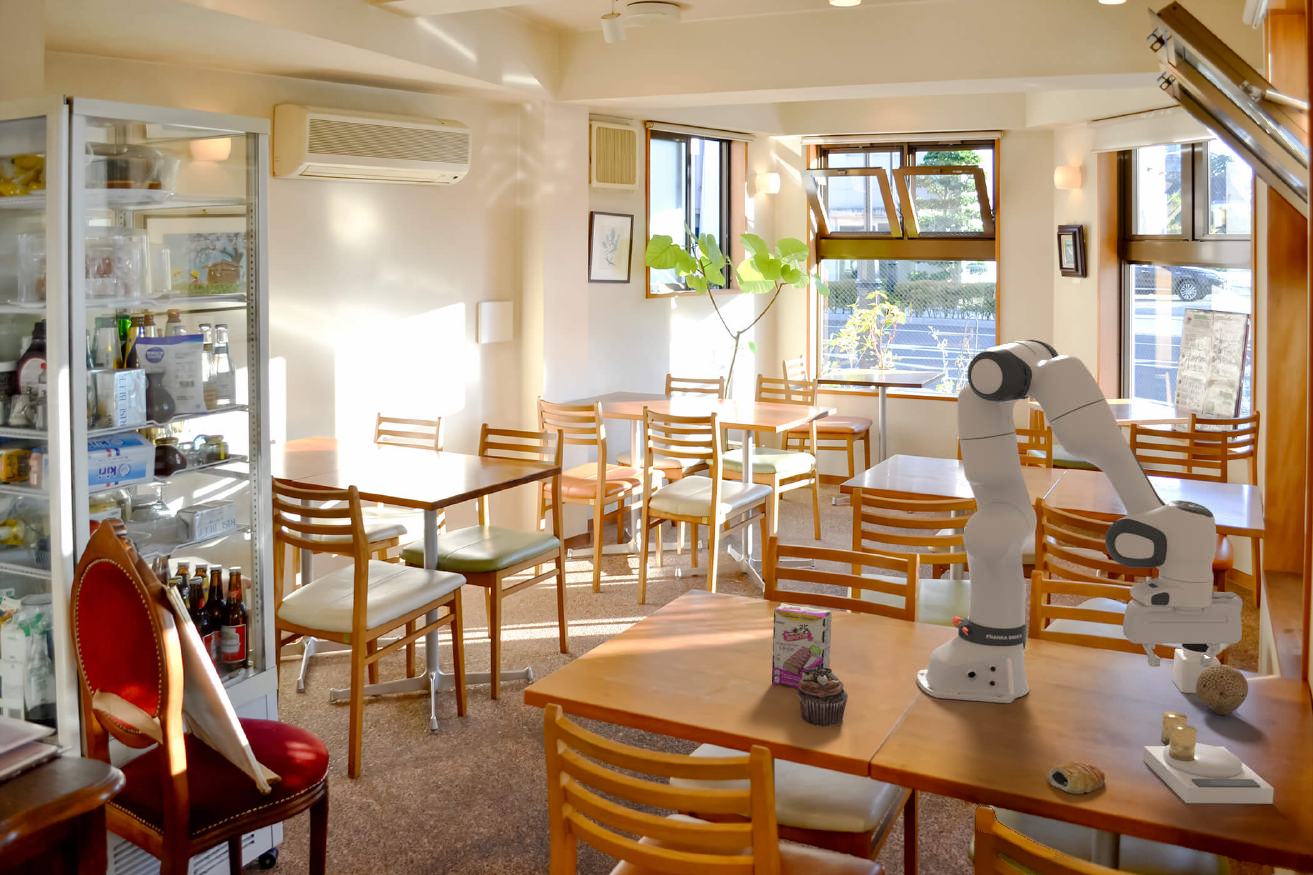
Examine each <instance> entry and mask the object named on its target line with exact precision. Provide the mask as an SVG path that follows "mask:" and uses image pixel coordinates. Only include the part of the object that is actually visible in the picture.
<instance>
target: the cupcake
mask: <svg viewBox="0 0 1313 875" xmlns="http://www.w3.org/2000/svg"><path fill="white" fill-rule="evenodd" d="M823 669H824V670H826V671H823ZM796 694H797V698H798V702H799V706H800V707H799V708H800V714H801V719H802V720H803V721H804V722H806V723H808V724H811V725H813V726H817V727H818V726H819V727H830V726H836V725H839V724H841V723H842V722H843V720H844V714H845V710H846V706H847V703H848V698H849V696H848V693H847V691H845V690H844V682H843V681H842V680H841V679H839V678H838V675H837V674H836V673H834V672H833V671H832V669H831V668H830V667H829V668H822V667H821V666H820V665H816V667H815V668H814V669H812V670H805V671H804V672H803V674H802V679H801V680H800V682H799V687H798V688H797V690H796Z"/></svg>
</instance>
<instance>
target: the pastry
mask: <svg viewBox="0 0 1313 875" xmlns="http://www.w3.org/2000/svg"><path fill="white" fill-rule="evenodd" d="M1046 777H1047V780H1048V782H1049V784H1051V785H1052V786H1053V787H1055V786H1056V788H1057V789H1060V790H1063V792H1066V793H1069V794H1074V795H1081V794H1084V793H1087V794H1088V793H1092V792H1093V791H1095V790H1097V789H1100V788H1101V787H1103V786H1104V783H1105V779H1106V778H1105V777H1106V776H1105V773H1104V772H1103V771H1102V770H1100V769H1099V768H1098V767H1097V766H1095V765H1093V764H1085V763H1081V762H1079V763H1078V762H1074V761H1073V762H1071V761H1066V762H1064V763H1061V762H1060V763H1057V764H1056V765H1054V766H1052V768H1051V769H1050V770H1049V772H1048V773H1047V774H1046Z"/></svg>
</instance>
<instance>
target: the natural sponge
mask: <svg viewBox="0 0 1313 875" xmlns="http://www.w3.org/2000/svg"><path fill="white" fill-rule="evenodd" d="M1195 694H1196V696H1197V697H1198V700H1199V701H1200V702H1202V703H1203V705H1206V706H1207V707H1209V708H1210V709H1212V711H1213V712H1214V713H1216V714H1218V715H1224V716H1226V715H1229V714H1231V713H1234V712H1235V711H1236V710H1238V709H1239V707H1240V706H1241V705H1243V703H1244V701H1245V700H1246V698H1247V696H1248V694H1249V684H1248V681H1247V679H1246V677H1245V675H1243V673H1242V672H1241V671H1240V670H1238V669H1237V668H1236V667H1234V666H1231V665H1228V664H1220V665H1214V666H1212V667H1209V668H1207V669H1205V670H1204V671H1203V672H1202V673H1201V674H1200V675H1199V677H1198V679H1197V682H1196V693H1195Z"/></svg>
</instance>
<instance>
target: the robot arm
mask: <svg viewBox="0 0 1313 875" xmlns="http://www.w3.org/2000/svg"><path fill="white" fill-rule="evenodd" d="M967 382H968V384H966V386H963V388H961V390H960V391H959V394H958V395H957V396H958V397H957V413H956V414H957V430H958V438H959V445H960V452H961V458H962V467H963V472H964V478H965V479H966V481H967V482H968V484H969V486H970V489H971V491H972V495H973V497H974V499H975V503H976V508H977V511H976V512H974V513H973V514H972V515H971V516H970V517H969V519H968V520H967V522H966V524H965V527H964V530H963V534H962V541H963V546H964V547H965V550H966V559H967V566H968V574H969V598H968V599H969V604H968V616H967V617H966V618H964V619H962V618H961V617H960V616H959V615H956V616H955V615H954V616H953V618H951V623H952V625H953V626H954V627H955V628H957V629H958V630H957V633H958V634H957V635H955V636H953V637H952V638H951V639H950V640H948V641H946V642H945V643H943V644H942V645H940V646H938V647H937V648H935V649H933V651H932V653H931V655H930V658H929V660H928V661H929V662H928V666H927V668H926V669H920V670H918V672H917V674H916V682H917V685H918V686H919V687H920V689H921V690H922V691H924V693H926V694H928V695H930V696H932V697H933V698H937V699H951V700H963V701H973V702H975V701H976V702H977V701H978V702H986V703H987V702H989V703H998V704H999V703H1001V704H1003V703H1004V704H1011V703H1013V701H1015V699H1017V698H1020V697H1023V696H1026V695H1027V694H1028V693H1029V691H1030V686H1029V684H1028V679H1027V673H1026V666H1025V649H1026V644H1027V637H1028V635H1027V634H1028V633H1027V632H1028V631H1027V622H1025V617H1026V600H1027V584H1026V581H1025V577H1024V576H1025V575H1024V567H1023V551H1024V547H1025V546H1026V545H1027V544H1028V543H1029V542H1030V541H1031V540H1032V539H1033V537H1034V535H1035V532H1036V530H1037V523H1038V517H1037V513H1036V511H1035V509H1034V507H1033V504H1032V500H1031V497H1030V493H1029V490H1028V488H1027V485H1026V481H1025V478H1024V474H1023V470H1022V465H1021V460H1020V453H1019V447H1018V439H1017V432H1016V427H1015V421H1014V420H1015V419H1014V406H1015V405H1016V403H1017V402H1018V401H1019V400H1026V399H1028V398H1031V399H1033V400H1035V401H1036V402H1037V403H1038V404H1039V406H1040V407H1041V409H1042V412H1043V413H1044V415H1045V418H1046V421H1047V422H1048V424H1049V426H1050V429H1051V431H1052V434H1053V435H1054V437H1055V438H1056V440H1057V442H1058V443H1059V444H1060V446H1061V448H1062V449H1063V450H1064V452H1066V454H1068V455H1070V456H1072V457H1074V458H1076V459H1079V460H1083V461H1085V462H1088V463H1090V464H1092V465H1093V466H1095V467H1097V468H1098V469H1099V470H1101V471H1102V473H1104V474H1105V476H1106V478H1108V480H1109V482H1110V483H1111V485H1112V488H1113V489H1114V491H1115V493H1116V495H1117V496H1118V499H1119V500H1120V502H1121V504H1122V505H1123V508H1124V509H1125V512H1126V515H1125V516H1123V517H1121V518H1118V519H1117V520H1116V521H1114V522H1113V523H1112V524H1110V526H1109V527H1108V529H1107V530H1106V534H1105V539H1104V540H1105V542H1104V543H1105V547H1106V550H1107V553H1108V554H1109V556H1110V558H1111V559H1112V560H1114V561H1115V562H1116V563H1117V564H1119V565H1121V566H1123V567H1126V568H1133V569H1134V568H1136V569H1137V568H1140V569H1141V568H1142V569H1143V568H1145V569H1146V568H1157V569H1158V576H1157V577H1155V578H1152V579H1150V580H1146V581H1144V582H1140V583H1137V584H1134V585H1132V586H1130V588H1129V589H1130V590H1129V591H1130V592H1129V594H1130V596H1131V597H1132V598H1133V599H1131V600H1129V601H1128V603H1127V605H1126V608H1125V612H1124V617H1123V624H1122V633H1123V636H1124V637H1125V638H1126V639H1127V640H1128V641H1129V642H1130V643H1133V644H1140V645H1142V647H1143V648H1144V651H1145V652H1146V655H1148V656H1147V664H1148V666H1150V667H1151V668H1153V667H1156V668H1157V667H1160V666H1161V663H1160V662H1161V657H1160V656H1158V655H1157V654H1155V652H1154V651H1153V650H1155V649H1156V644H1161V645H1162V644H1166V645H1167V644H1168V645H1169V644H1181V645H1182V644H1207V645H1208V646H1209V648H1208V650H1207V651H1206V653H1205V654H1204V655H1200V659H1201V660H1200V665H1202V666H1203V667H1212V662H1213V658H1214V657H1216V655H1217V654H1218V653H1219V651H1220V649H1221V644H1222V645H1224V644H1225V645H1226V644H1227V645H1230V644H1231V645H1232V644H1234V645H1235V644H1238V643H1239V642H1240V641H1241V640H1242V636H1243V633H1242V632H1243V626H1242V625H1243V624H1242V623H1243V622H1242V615H1241V613H1242V612H1243V611H1242V610H1243V599H1242V598H1241V596H1240V595H1238V594H1236V593H1235V592H1233V591H1227V592H1222V591H1214V589H1213V588H1214V572H1213V562H1214V559H1215V557H1216V553H1217V552H1216V551H1217V548H1216V547H1217V528H1216V527H1217V525H1216V520H1215V515H1214V514H1213V512H1212V511H1211V510H1210V509H1209V508H1207V507H1206V506H1203V505H1201V504H1199V503H1196V502H1192V501H1188V500H1186V501H1185V500H1172V501H1169V502H1168V503H1165V501H1163V500H1162V498H1161V497H1160V496H1159V494H1158V492H1157V491H1156V489H1155V487H1154V486H1153V484H1152V482H1151V481H1150V478H1149V477H1148V475H1147V474H1146V473H1147V472H1146V471H1145V470H1144V468H1143V466H1142V464H1141V463H1140V461H1139V458H1137V456H1136V454H1135V452H1134V450H1133V449H1132V448H1131V445H1130V444H1129V442H1128V440H1127V439H1126V437H1125V436H1124V434H1123V431H1122V430H1121V428H1120V426H1119V424H1118V422H1117V420H1116V418H1115V416H1114V413H1113V412H1112V409H1111V406H1110V405H1109V403H1108V401H1107V399H1106V397H1105V395H1104V393H1103V390H1102V389H1101V388H1100V386H1099V384H1098V382H1097V381H1096V379H1095V377H1094V376H1093V374H1092V373H1091V372H1090V370H1089V369H1088V367H1087V366H1086V364H1084V362H1083V361H1082V360H1081V359H1080V358H1078V357H1076V356H1074V355H1067V354H1065V355H1059V354H1058V351H1057V350H1056V349H1055V348H1054V347H1053V346H1052V345H1050V344H1049V343H1047V342H1044V341H1041V340H1036V339H1027V340H1019V341H1018V340H1017V341H1010V342H1006V343H1004V344H1001V345H998V346H992V347H987V348H986V349H984V350H982V351H980V352H979V353H977V355H975V356H974V357H973V358H972V360H971V361H970V363H969V365H968V369H967Z"/></svg>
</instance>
